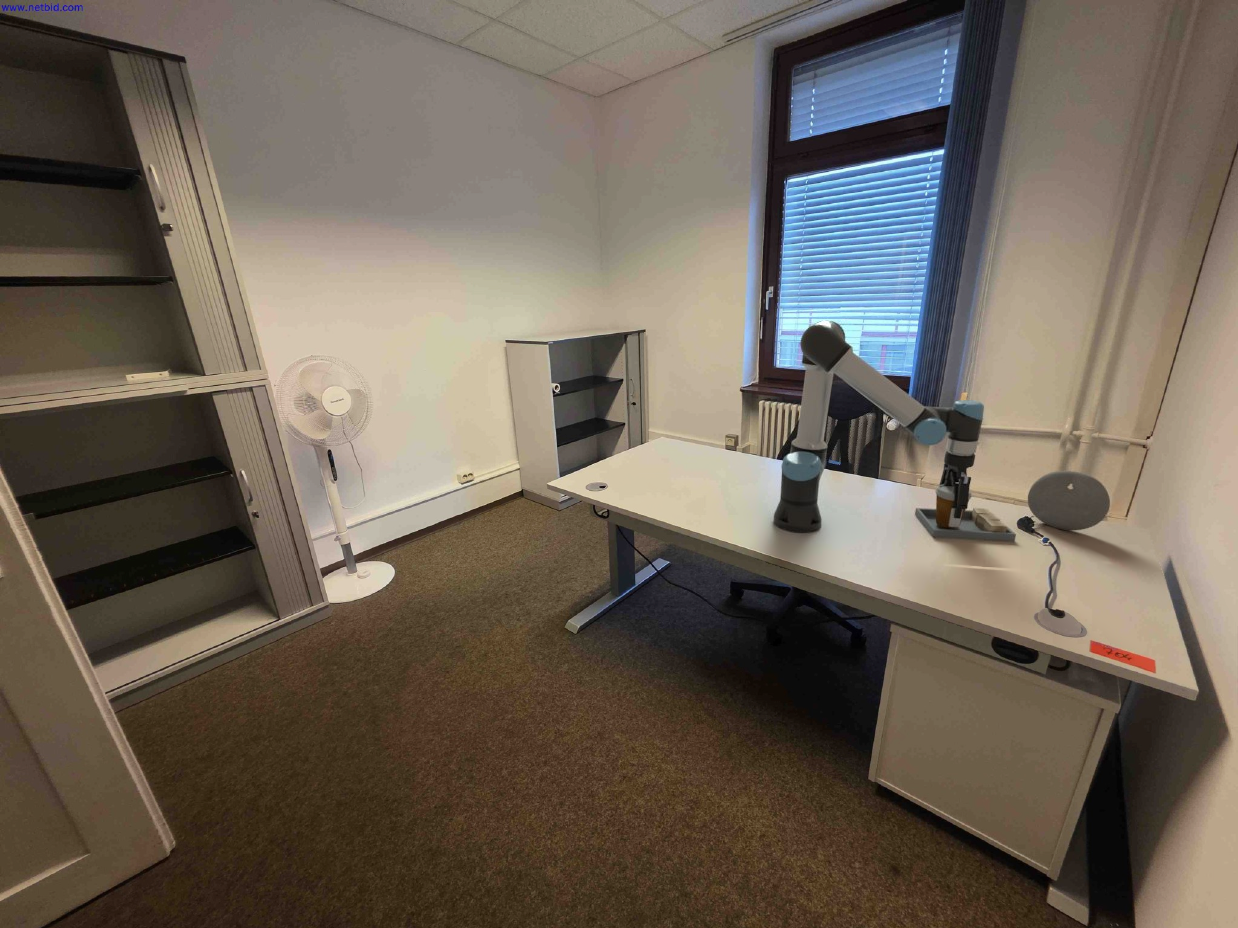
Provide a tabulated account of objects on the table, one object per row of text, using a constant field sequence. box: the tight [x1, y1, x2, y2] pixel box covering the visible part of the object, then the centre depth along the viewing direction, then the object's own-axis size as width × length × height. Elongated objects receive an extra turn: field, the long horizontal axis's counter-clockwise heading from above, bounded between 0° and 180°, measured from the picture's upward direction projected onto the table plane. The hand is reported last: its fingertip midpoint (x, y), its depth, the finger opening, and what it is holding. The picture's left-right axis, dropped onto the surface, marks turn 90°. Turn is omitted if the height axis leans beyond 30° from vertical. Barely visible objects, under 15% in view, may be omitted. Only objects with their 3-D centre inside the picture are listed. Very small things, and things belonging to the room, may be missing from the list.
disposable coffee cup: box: [934, 484, 973, 528], centre depth 153 cm, size 10×10×12 cm
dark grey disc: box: [1027, 470, 1111, 531], centre depth 149 cm, size 18×7×19 cm, turn 44°
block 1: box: [971, 507, 993, 524], centre depth 157 cm, size 4×4×4 cm
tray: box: [914, 507, 1017, 543], centre depth 154 cm, size 22×17×3 cm
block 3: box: [983, 520, 1008, 533], centre depth 148 cm, size 4×4×4 cm
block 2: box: [976, 513, 1001, 530], centre depth 152 cm, size 4×4×4 cm
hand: (948, 520), depth 155 cm, fingers open, 8 cm apart
